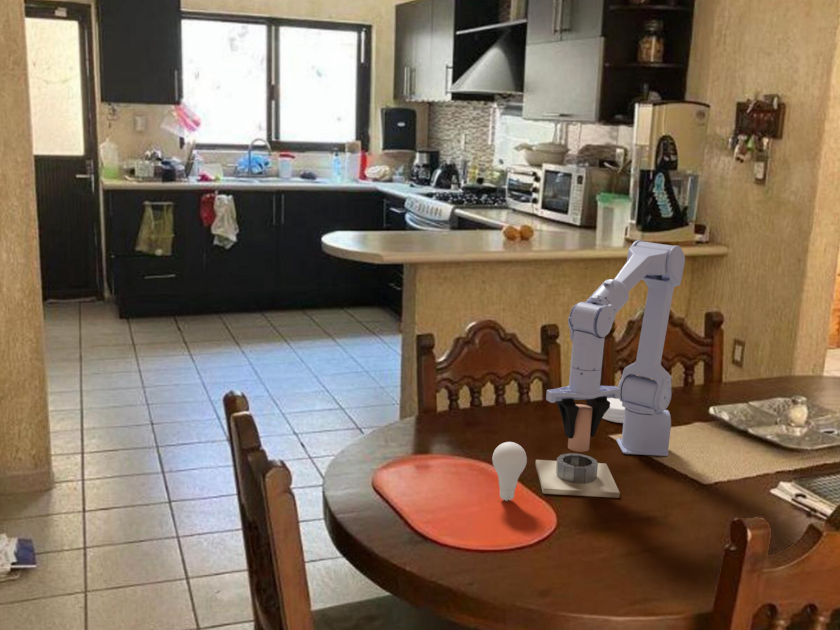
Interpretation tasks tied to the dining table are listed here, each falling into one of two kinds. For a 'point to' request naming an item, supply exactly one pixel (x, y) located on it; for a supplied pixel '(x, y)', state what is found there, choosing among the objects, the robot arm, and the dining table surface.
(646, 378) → the robot arm
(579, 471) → the socket board
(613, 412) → the coaster
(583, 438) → the peg
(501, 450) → the lightbulb
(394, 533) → the dining table surface
